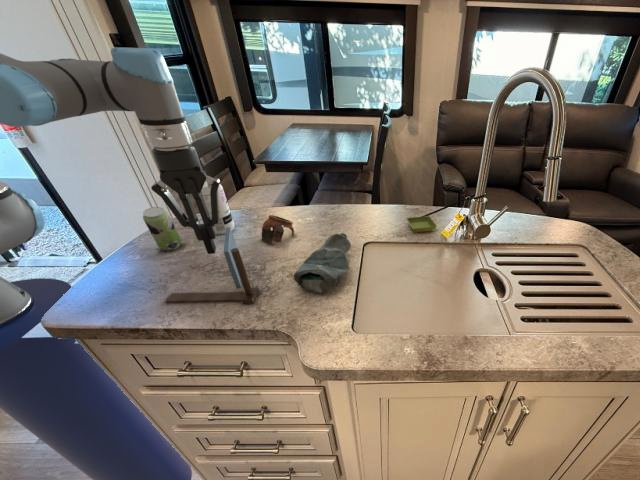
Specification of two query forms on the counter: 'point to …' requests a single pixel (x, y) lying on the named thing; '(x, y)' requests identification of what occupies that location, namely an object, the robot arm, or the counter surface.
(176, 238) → the beverage can
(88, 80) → the robot arm
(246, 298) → the brown l-shaped stand
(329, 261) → the grey soft lump
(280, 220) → the brown piece
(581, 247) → the counter surface
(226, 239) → the door
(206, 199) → the supplement can
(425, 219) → the green square dish
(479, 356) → the counter surface
